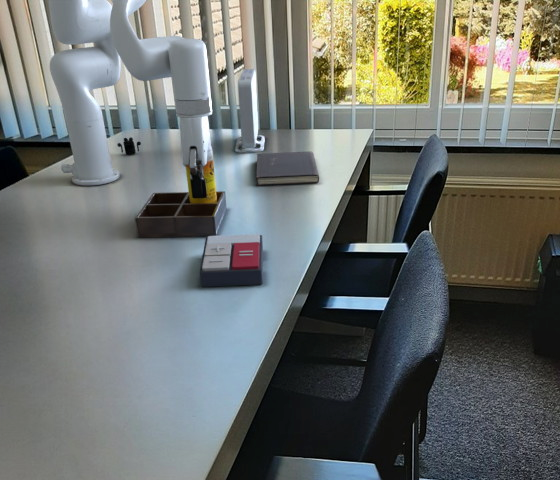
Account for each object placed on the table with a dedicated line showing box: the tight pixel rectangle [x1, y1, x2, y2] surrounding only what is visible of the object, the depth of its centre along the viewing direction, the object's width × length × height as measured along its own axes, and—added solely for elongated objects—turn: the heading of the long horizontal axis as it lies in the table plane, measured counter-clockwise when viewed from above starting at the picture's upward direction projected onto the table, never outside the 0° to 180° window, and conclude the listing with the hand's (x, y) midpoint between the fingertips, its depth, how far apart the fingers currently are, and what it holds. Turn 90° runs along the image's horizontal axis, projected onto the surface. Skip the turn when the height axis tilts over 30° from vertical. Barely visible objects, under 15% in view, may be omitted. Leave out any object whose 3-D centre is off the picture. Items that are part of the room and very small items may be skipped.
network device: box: [234, 68, 266, 154], centre depth 189 cm, size 26×9×20 cm, turn 179°
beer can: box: [185, 143, 217, 204], centre depth 136 cm, size 6×6×15 cm
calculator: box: [199, 233, 264, 288], centre depth 115 cm, size 11×4×15 cm
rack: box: [134, 190, 228, 238], centre depth 137 cm, size 17×17×4 cm
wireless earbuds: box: [117, 136, 142, 156], centre depth 188 cm, size 7×2×5 cm, turn 99°
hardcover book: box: [255, 150, 320, 187], centre depth 167 cm, size 16×23×2 cm
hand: (202, 191), depth 138 cm, fingers open, 7 cm apart
